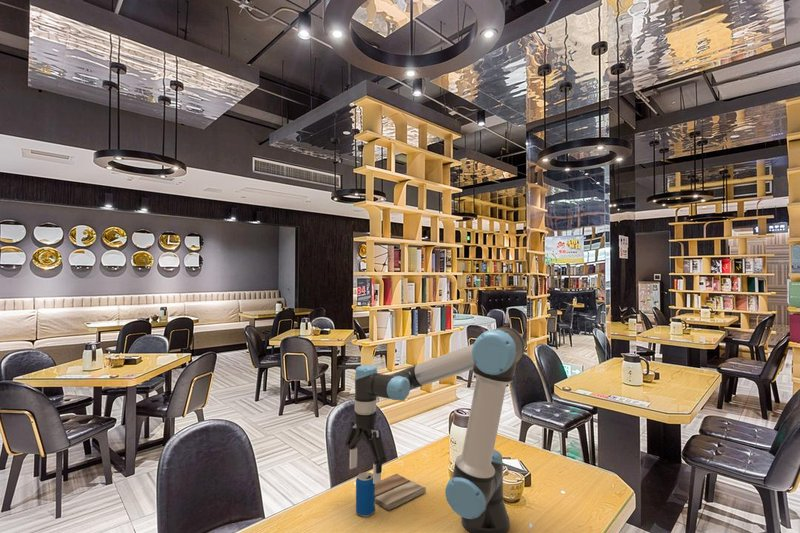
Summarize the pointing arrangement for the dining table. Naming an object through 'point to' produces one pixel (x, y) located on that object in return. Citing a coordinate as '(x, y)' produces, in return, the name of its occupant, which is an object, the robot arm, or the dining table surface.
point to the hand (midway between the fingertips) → (364, 474)
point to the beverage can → (365, 494)
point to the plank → (399, 495)
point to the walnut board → (389, 484)
